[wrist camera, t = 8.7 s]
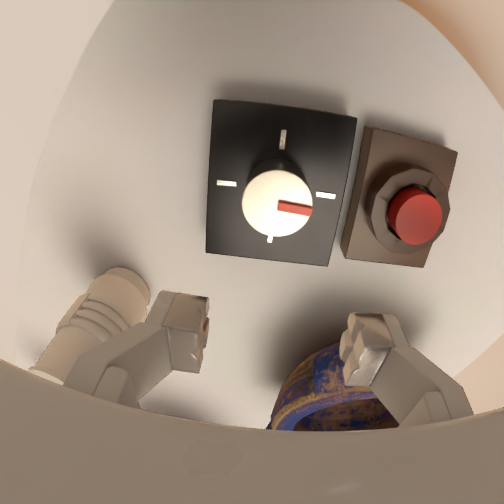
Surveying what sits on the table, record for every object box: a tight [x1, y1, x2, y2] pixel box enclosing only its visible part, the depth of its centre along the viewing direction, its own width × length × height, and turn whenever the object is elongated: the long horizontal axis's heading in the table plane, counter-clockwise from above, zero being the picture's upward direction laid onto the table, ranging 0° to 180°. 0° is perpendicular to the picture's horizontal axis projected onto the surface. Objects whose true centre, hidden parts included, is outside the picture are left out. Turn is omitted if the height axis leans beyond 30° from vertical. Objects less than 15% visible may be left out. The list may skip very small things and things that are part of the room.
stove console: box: [206, 99, 357, 266], centre depth 23 cm, size 12×10×3 cm
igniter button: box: [388, 187, 442, 245], centre depth 20 cm, size 4×4×2 cm
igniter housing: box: [340, 125, 458, 268], centre depth 23 cm, size 11×8×4 cm
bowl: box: [266, 342, 400, 432], centre depth 30 cm, size 18×18×10 cm
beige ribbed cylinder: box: [28, 267, 150, 385], centre depth 24 cm, size 7×7×15 cm
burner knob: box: [241, 159, 313, 237], centre depth 20 cm, size 4×4×4 cm
